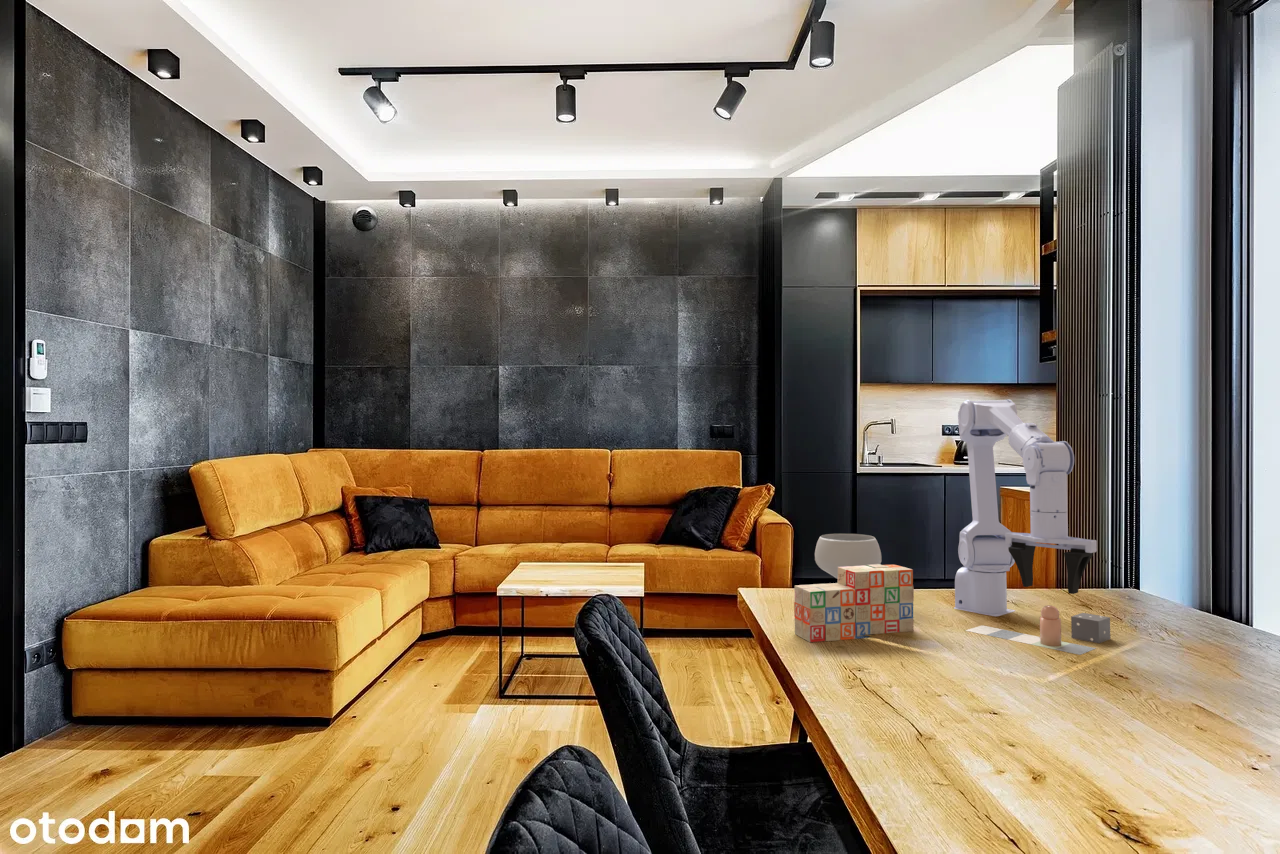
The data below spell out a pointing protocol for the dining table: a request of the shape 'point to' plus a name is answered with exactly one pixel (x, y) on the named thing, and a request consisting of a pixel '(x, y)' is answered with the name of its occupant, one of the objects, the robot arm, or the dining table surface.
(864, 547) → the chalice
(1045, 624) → the pawn
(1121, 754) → the dining table surface
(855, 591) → the stack of blocks
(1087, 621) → the die
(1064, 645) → the board
